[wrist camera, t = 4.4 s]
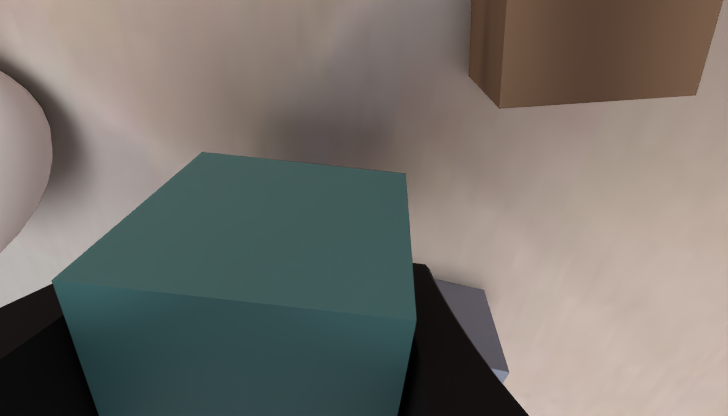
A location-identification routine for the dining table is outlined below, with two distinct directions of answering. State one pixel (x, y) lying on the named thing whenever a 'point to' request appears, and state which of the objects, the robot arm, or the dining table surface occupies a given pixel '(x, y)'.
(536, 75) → the walnut block
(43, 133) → the white knot sculpture
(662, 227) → the dining table surface
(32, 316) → the robot arm
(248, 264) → the teal block
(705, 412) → the dining table surface
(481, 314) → the slate-blue block
